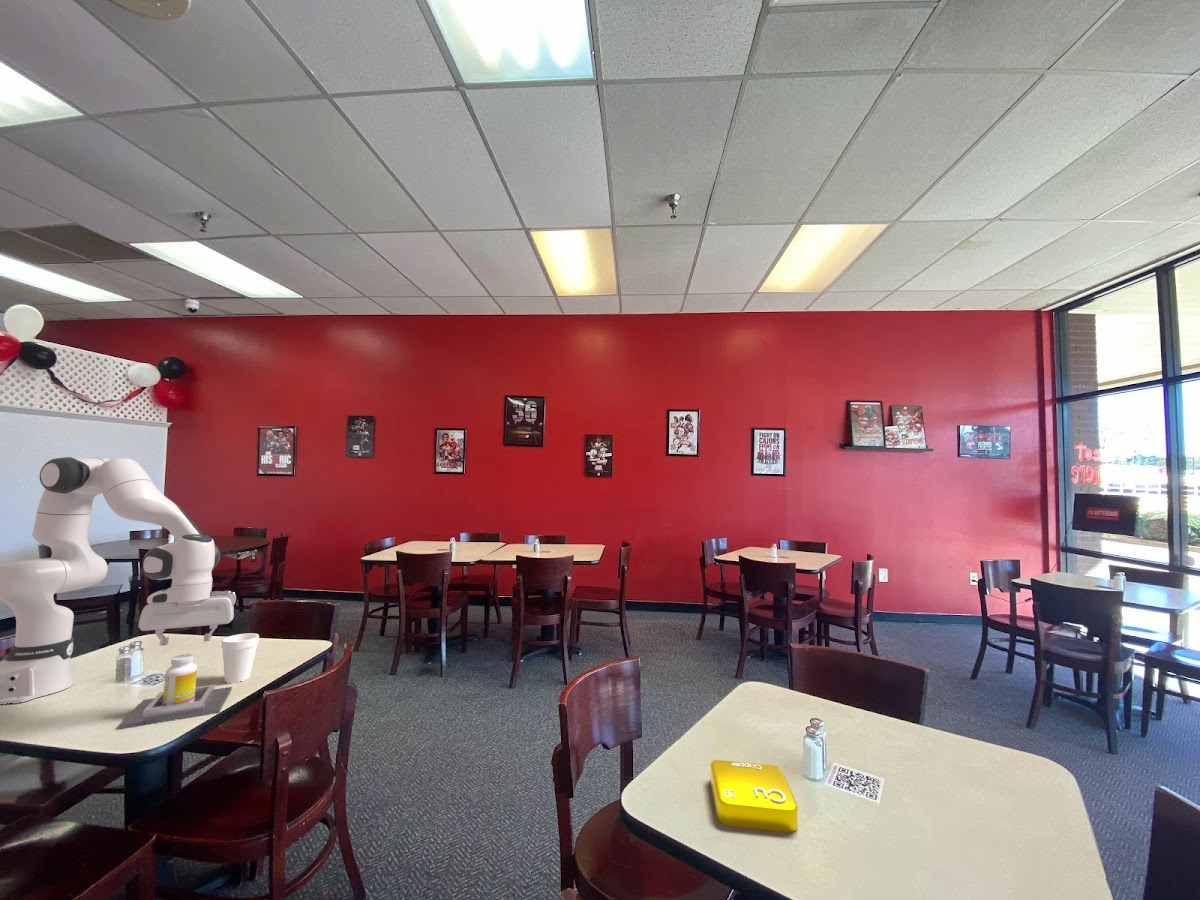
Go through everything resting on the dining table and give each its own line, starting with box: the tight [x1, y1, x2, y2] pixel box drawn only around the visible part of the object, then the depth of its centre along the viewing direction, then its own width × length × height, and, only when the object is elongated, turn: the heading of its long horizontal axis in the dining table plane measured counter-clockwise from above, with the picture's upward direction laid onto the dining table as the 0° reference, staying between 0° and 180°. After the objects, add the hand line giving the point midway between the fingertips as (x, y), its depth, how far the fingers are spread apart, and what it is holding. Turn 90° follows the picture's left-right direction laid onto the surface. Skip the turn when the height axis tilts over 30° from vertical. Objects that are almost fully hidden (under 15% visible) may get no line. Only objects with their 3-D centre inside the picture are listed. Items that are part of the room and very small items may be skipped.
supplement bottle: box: [163, 653, 198, 706], centre depth 131 cm, size 7×7×13 cm
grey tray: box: [119, 684, 233, 730], centre depth 130 cm, size 20×16×3 cm
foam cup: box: [221, 632, 260, 684], centre depth 150 cm, size 10×9×13 cm
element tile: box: [710, 759, 799, 833], centre depth 95 cm, size 15×15×5 cm
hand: (185, 642), depth 132 cm, fingers open, 8 cm apart
